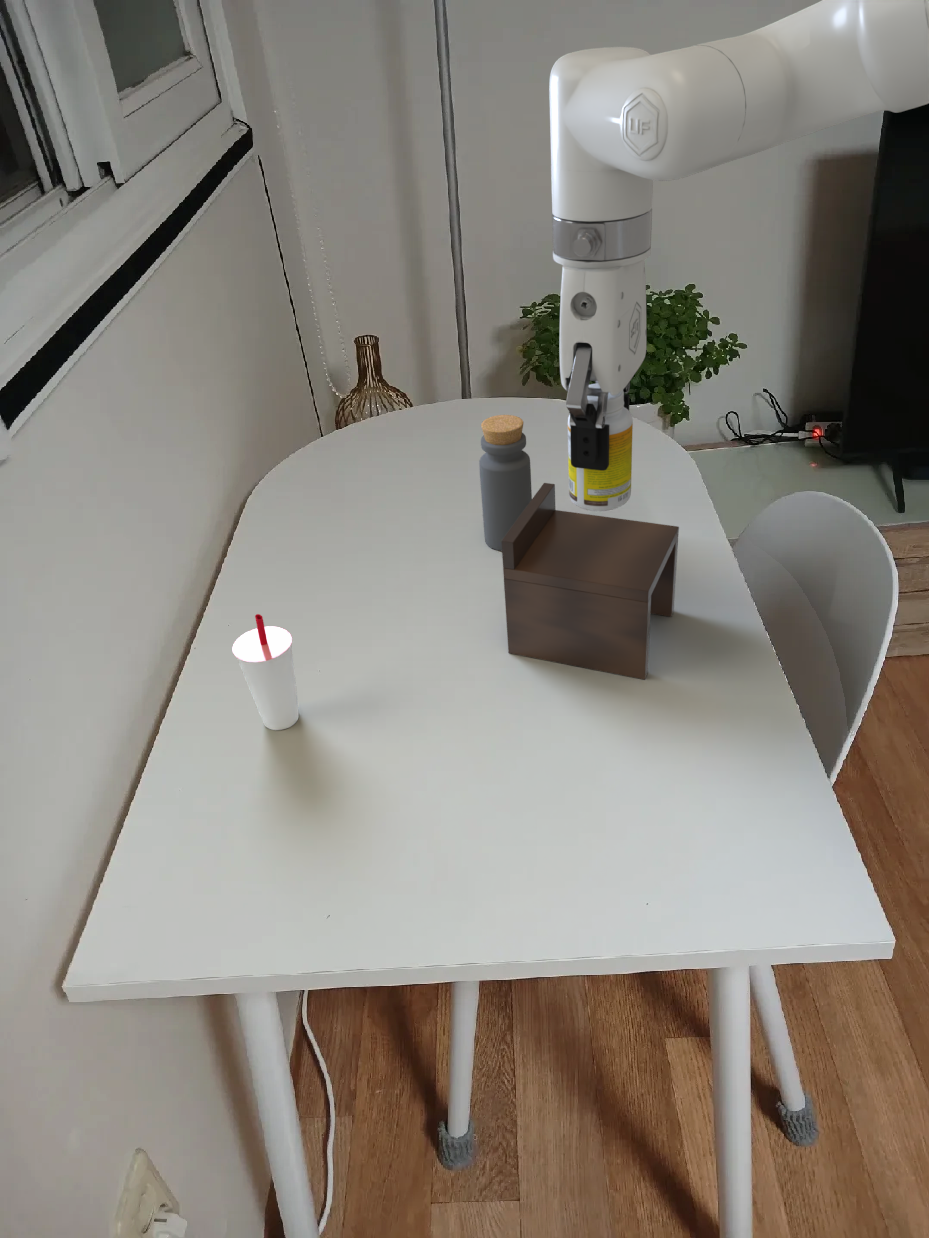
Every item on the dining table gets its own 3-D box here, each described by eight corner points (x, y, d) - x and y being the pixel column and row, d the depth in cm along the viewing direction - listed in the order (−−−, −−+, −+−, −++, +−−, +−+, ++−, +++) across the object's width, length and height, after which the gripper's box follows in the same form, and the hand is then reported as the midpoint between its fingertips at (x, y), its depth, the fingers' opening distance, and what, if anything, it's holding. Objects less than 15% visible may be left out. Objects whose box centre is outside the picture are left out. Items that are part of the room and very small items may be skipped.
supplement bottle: (643, 498, 86) (647, 389, 80) (600, 520, 83) (601, 410, 77) (598, 479, 89) (599, 374, 83) (556, 500, 87) (553, 393, 81)
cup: (320, 716, 90) (297, 613, 83) (273, 745, 88) (245, 641, 81) (288, 692, 94) (264, 591, 87) (242, 719, 91) (213, 617, 84)
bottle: (487, 554, 112) (478, 436, 103) (482, 529, 117) (474, 415, 108) (536, 549, 112) (532, 430, 103) (529, 524, 117) (525, 409, 108)
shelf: (673, 610, 100) (680, 499, 92) (644, 679, 91) (649, 563, 83) (547, 589, 105) (543, 482, 97) (508, 653, 96) (501, 540, 89)
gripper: (619, 270, 65) (615, 502, 76) (675, 209, 78) (665, 416, 88) (516, 266, 68) (526, 491, 79) (587, 208, 81) (587, 409, 91)
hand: (600, 449), depth 83 cm, fingers closed on supplement bottle, 5 cm apart
